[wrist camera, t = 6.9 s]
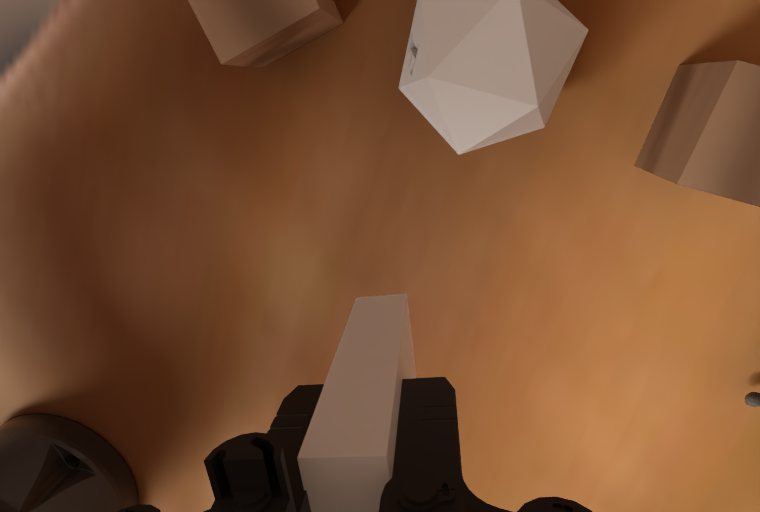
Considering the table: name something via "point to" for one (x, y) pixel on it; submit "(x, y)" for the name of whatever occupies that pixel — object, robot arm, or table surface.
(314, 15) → the walnut block
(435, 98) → the die
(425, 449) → the robot arm
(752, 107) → the walnut block
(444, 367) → the table surface
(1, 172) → the table surface
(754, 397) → the dog figurine
